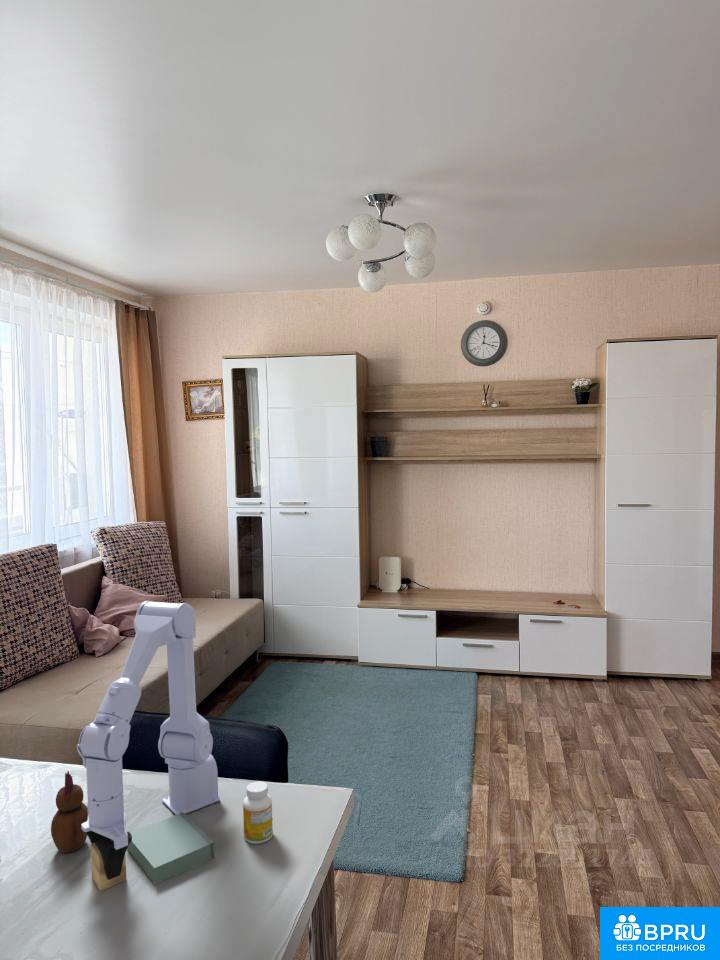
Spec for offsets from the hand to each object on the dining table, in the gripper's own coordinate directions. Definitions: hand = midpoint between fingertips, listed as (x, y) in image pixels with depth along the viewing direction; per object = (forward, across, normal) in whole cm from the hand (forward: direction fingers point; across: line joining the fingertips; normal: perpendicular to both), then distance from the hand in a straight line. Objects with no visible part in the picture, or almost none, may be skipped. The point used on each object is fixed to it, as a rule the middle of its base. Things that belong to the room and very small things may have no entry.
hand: (108, 869), depth 117 cm
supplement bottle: (+2, +6, +26) cm, 27 cm away
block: (+2, 0, 0) cm, 2 cm away
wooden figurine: (+2, -14, -2) cm, 14 cm away
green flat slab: (+2, 0, +11) cm, 11 cm away
